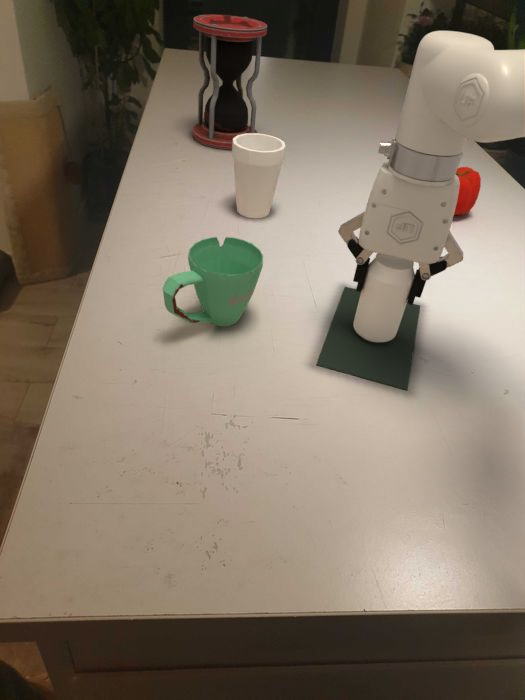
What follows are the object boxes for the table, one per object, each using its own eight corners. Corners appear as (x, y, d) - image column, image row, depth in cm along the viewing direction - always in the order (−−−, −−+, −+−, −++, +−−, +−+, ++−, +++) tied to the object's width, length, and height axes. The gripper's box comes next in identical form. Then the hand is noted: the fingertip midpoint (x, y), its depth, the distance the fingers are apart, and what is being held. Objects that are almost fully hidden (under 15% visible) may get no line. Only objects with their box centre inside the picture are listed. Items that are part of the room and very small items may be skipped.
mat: (407, 390, 67) (407, 389, 67) (316, 365, 69) (316, 364, 69) (419, 306, 82) (420, 305, 82) (344, 287, 84) (344, 286, 84)
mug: (225, 288, 80) (229, 229, 74) (271, 319, 75) (279, 259, 69) (145, 324, 72) (141, 261, 65) (190, 362, 67) (190, 298, 60)
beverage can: (344, 322, 76) (362, 249, 69) (382, 317, 78) (403, 245, 70) (363, 349, 72) (385, 274, 64) (403, 343, 74) (428, 270, 66)
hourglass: (268, 136, 134) (279, 23, 118) (239, 155, 122) (247, 32, 106) (212, 122, 138) (216, 11, 122) (179, 139, 127) (178, 18, 111)
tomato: (412, 213, 107) (425, 170, 101) (426, 193, 116) (439, 152, 110) (464, 229, 104) (480, 185, 98) (475, 207, 112) (491, 166, 107)
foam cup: (279, 204, 105) (288, 137, 96) (274, 225, 98) (283, 155, 89) (232, 197, 105) (236, 130, 97) (224, 217, 98) (228, 147, 90)
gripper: (342, 155, 58) (316, 291, 69) (504, 189, 55) (449, 325, 66) (354, 135, 63) (328, 264, 75) (501, 165, 60) (451, 294, 72)
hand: (385, 291), depth 70 cm, fingers closed on beverage can, 6 cm apart
